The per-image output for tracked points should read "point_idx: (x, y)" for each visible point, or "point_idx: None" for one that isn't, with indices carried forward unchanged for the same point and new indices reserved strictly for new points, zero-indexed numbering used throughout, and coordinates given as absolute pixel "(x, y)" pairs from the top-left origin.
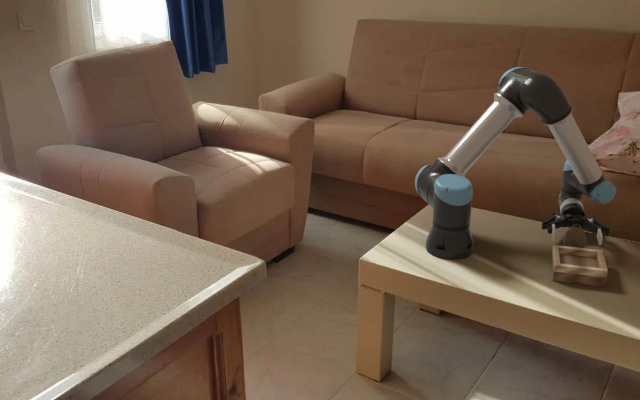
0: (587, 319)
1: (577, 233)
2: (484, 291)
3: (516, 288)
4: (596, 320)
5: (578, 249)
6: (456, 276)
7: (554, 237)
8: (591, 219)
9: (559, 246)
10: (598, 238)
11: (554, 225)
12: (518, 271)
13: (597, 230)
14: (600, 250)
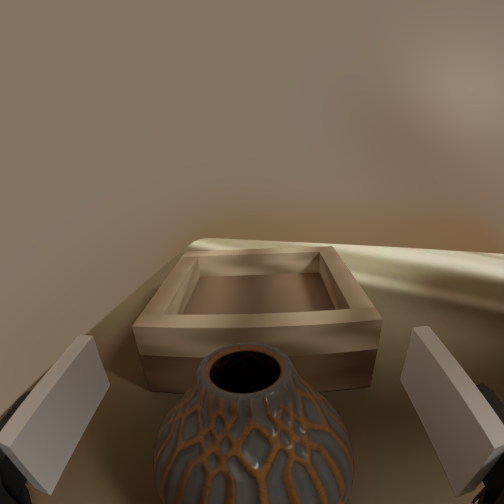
0: (256, 244)
1: (244, 368)
2: (431, 252)
3: (392, 265)
4: (242, 244)
5: (252, 315)
6: (497, 264)
7: (406, 363)
8: None
9: (348, 316)
10: (79, 407)
11: (481, 422)
12: (426, 301)
13: (10, 501)
14: (143, 323)
